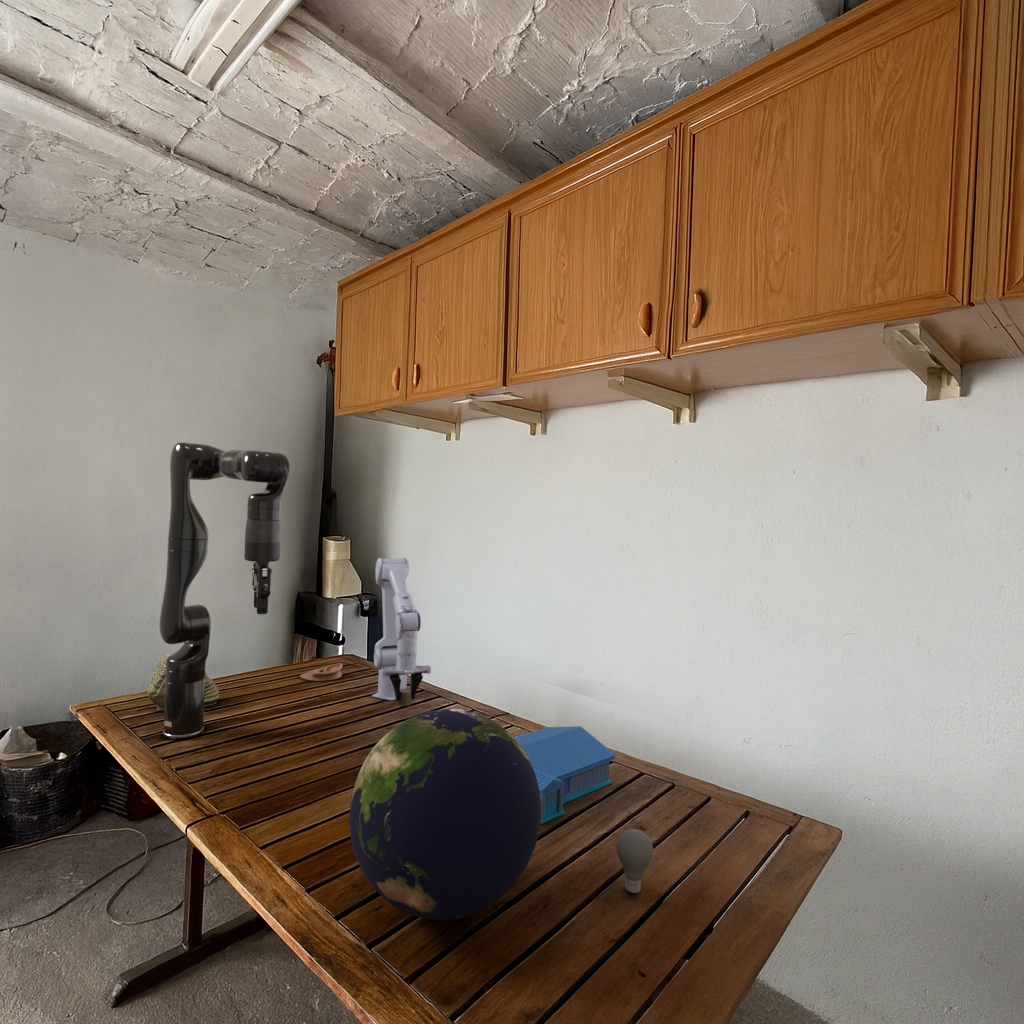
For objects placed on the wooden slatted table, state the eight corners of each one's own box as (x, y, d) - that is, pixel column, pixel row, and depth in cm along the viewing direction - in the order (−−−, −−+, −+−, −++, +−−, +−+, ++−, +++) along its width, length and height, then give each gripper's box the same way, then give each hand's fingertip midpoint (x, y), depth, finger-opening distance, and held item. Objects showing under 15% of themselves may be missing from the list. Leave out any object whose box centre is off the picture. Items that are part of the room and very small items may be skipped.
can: (398, 706, 183) (399, 692, 183) (397, 702, 187) (398, 688, 187) (412, 705, 184) (412, 692, 184) (410, 701, 188) (411, 688, 188)
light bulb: (610, 879, 108) (613, 822, 108) (644, 879, 109) (647, 822, 109) (619, 902, 102) (622, 840, 102) (655, 901, 103) (658, 840, 103)
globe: (303, 931, 92) (311, 727, 92) (410, 834, 120) (417, 677, 120) (490, 1000, 81) (500, 768, 81) (561, 876, 109) (569, 702, 108)
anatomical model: (295, 667, 216) (312, 659, 227) (295, 679, 216) (312, 670, 227) (331, 671, 213) (346, 663, 224) (330, 683, 213) (346, 674, 224)
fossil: (144, 707, 182) (145, 655, 182) (212, 696, 194) (213, 647, 194) (151, 716, 175) (153, 662, 175) (221, 703, 188) (223, 653, 188)
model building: (493, 845, 118) (495, 791, 117) (419, 795, 136) (421, 749, 136) (624, 787, 144) (626, 744, 144) (547, 752, 162) (548, 713, 162)
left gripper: (284, 542, 139) (281, 615, 139) (276, 537, 152) (274, 604, 152) (247, 541, 136) (244, 617, 136) (242, 537, 148) (240, 606, 149)
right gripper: (385, 658, 179) (383, 705, 179) (434, 654, 185) (432, 701, 185) (379, 652, 185) (377, 698, 186) (427, 649, 191) (425, 693, 192)
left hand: (260, 610), depth 144 cm, fingers open, 8 cm apart
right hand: (404, 699), depth 186 cm, fingers closed on can, 4 cm apart
